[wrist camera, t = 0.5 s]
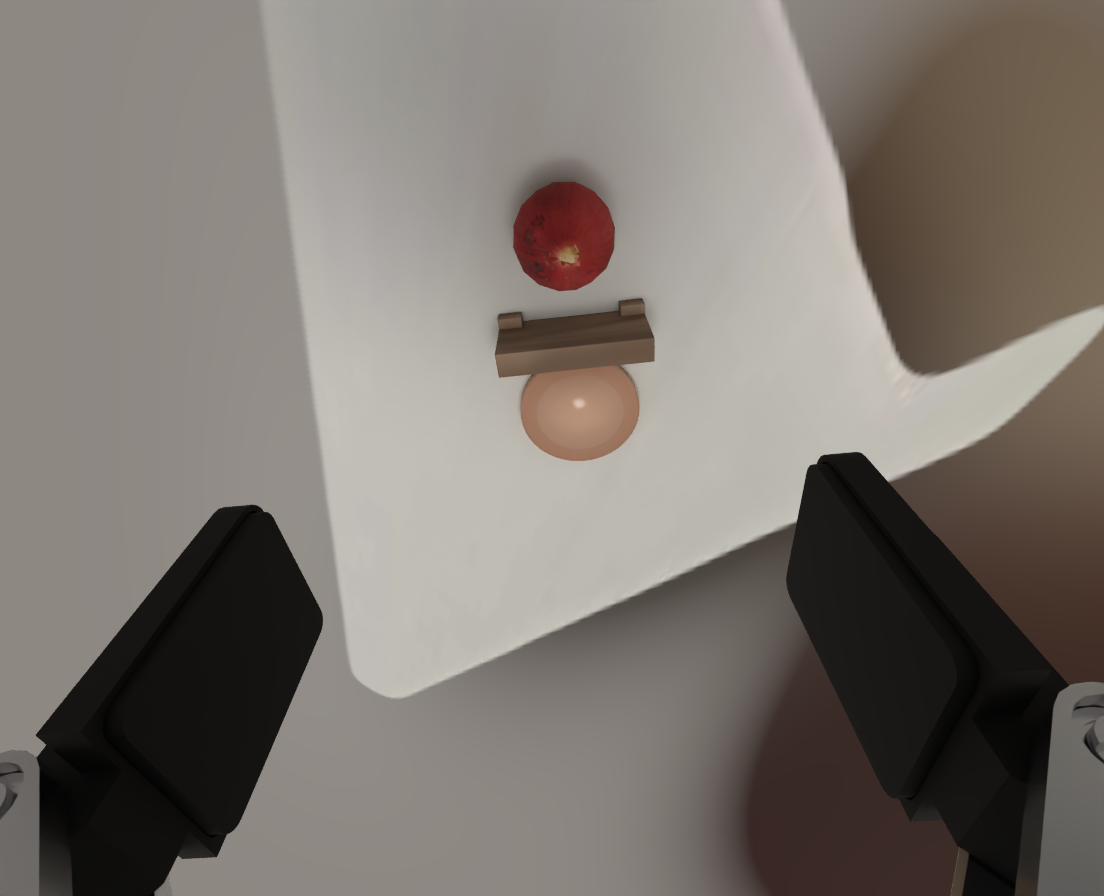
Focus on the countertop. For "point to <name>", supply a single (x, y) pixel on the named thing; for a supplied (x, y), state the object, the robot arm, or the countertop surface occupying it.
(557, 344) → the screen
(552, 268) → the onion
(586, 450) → the plate
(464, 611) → the countertop surface
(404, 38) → the countertop surface
